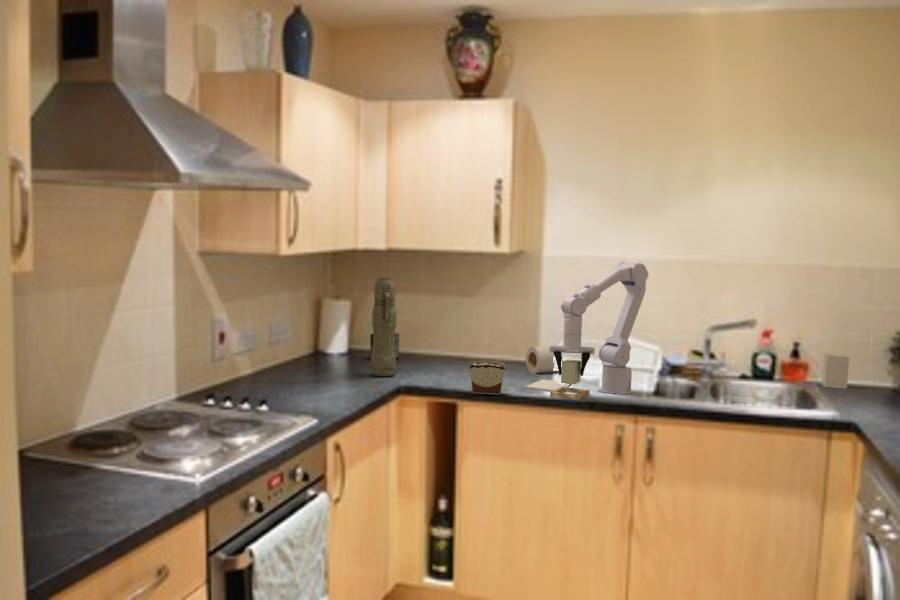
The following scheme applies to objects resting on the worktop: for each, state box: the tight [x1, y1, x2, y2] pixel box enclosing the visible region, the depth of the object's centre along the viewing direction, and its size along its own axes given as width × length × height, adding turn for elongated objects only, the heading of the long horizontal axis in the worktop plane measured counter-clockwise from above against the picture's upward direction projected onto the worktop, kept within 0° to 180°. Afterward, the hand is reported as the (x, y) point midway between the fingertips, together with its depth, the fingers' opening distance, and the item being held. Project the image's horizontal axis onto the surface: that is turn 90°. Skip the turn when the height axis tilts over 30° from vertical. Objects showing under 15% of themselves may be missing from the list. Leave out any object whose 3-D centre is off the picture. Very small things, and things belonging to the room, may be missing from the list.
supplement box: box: [821, 352, 850, 389], centre depth 280 cm, size 7×7×13 cm
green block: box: [560, 358, 581, 386], centre depth 257 cm, size 4×6×7 cm
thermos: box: [370, 277, 398, 377], centre depth 285 cm, size 9×12×35 cm
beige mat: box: [525, 379, 565, 393], centre depth 270 cm, size 11×15×1 cm
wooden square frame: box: [549, 386, 590, 401], centre depth 257 cm, size 10×11×2 cm
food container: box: [467, 360, 507, 395], centre depth 259 cm, size 12×6×10 cm, turn 84°
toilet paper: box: [525, 345, 554, 374], centre depth 298 cm, size 10×10×10 cm
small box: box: [369, 332, 400, 359], centre depth 319 cm, size 11×6×10 cm, turn 130°
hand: (570, 374), depth 257 cm, fingers closed on green block, 6 cm apart
